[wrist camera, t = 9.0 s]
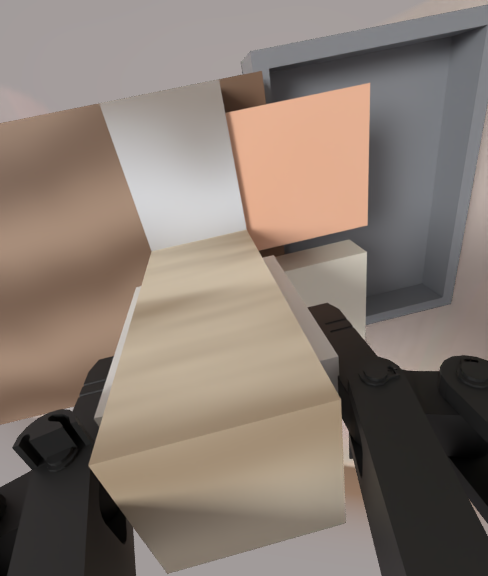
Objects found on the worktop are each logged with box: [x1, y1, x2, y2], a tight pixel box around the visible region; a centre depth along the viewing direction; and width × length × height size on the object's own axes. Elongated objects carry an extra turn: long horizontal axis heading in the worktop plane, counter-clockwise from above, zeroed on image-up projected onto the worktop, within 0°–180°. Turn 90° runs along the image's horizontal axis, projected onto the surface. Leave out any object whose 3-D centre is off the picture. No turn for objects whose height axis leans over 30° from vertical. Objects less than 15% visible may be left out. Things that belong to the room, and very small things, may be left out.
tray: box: [241, 5, 488, 325], centre depth 21 cm, size 18×13×3 cm
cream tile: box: [275, 239, 367, 340], centre depth 18 cm, size 6×6×2 cm
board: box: [0, 71, 285, 425], centre depth 19 cm, size 16×22×5 cm
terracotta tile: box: [225, 83, 370, 251], centre depth 15 cm, size 6×6×2 cm
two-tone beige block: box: [88, 79, 346, 574], centre depth 12 cm, size 16×4×12 cm, turn 10°
